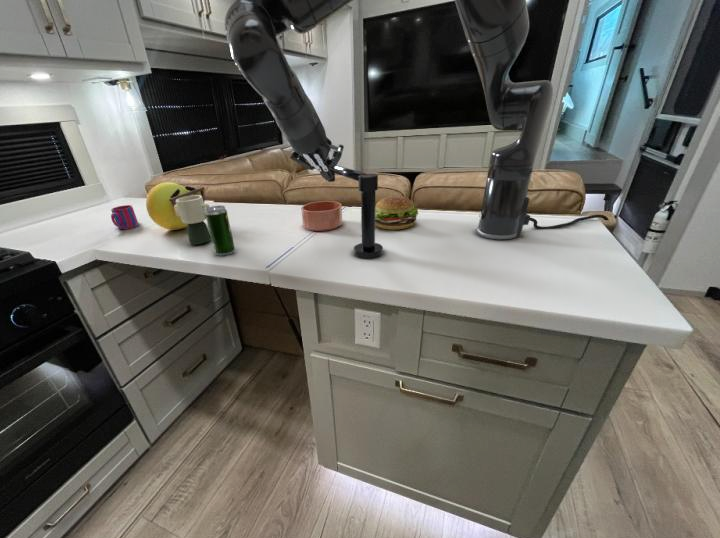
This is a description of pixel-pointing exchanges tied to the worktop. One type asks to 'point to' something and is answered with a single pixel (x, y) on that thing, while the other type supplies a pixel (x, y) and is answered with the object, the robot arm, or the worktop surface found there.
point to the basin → (322, 215)
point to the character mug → (193, 217)
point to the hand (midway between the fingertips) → (330, 177)
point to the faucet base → (368, 229)
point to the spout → (358, 178)
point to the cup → (124, 217)
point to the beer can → (220, 230)
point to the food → (395, 213)
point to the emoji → (168, 204)
